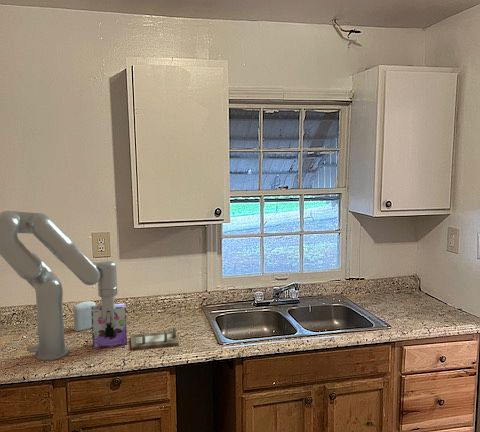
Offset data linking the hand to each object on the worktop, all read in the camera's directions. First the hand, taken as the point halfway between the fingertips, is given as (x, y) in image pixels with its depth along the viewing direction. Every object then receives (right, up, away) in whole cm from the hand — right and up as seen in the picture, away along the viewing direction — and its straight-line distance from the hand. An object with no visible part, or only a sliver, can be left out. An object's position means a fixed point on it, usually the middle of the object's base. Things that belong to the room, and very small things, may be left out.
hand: (109, 333), depth 203 cm
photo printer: (-16, -3, +20) cm, 26 cm away
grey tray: (+18, -4, +3) cm, 19 cm away
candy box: (0, -5, +1) cm, 5 cm away
